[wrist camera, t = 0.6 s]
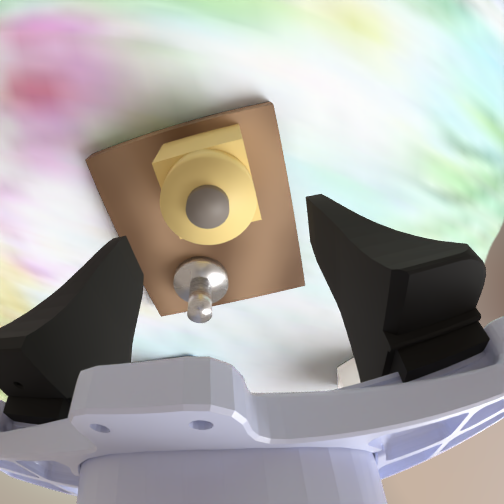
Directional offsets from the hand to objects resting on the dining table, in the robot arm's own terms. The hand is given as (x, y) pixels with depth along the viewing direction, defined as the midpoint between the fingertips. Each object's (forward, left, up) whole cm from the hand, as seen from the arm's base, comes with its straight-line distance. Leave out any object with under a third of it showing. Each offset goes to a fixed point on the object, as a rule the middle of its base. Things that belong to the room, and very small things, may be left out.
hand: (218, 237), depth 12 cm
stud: (-4, -8, -8) cm, 12 cm away
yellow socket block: (-1, 0, -8) cm, 8 cm away
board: (-2, -4, -9) cm, 10 cm away
